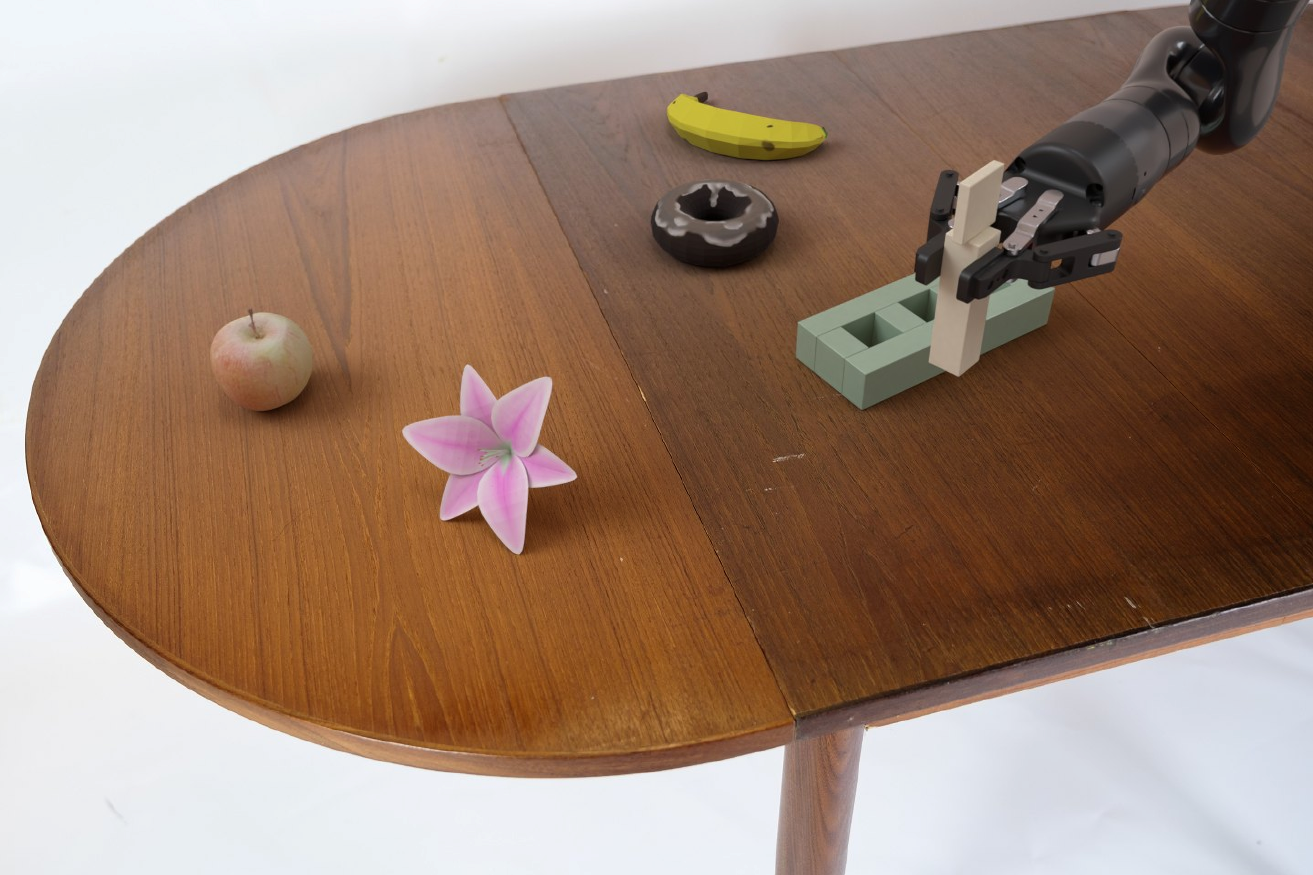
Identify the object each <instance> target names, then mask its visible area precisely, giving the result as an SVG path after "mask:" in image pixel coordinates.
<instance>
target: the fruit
mask: <svg viewBox="0 0 1313 875" xmlns="http://www.w3.org/2000/svg"><path fill="white" fill-rule="evenodd" d="M246 311H247V313H248V315H245V316H242V317H239V318H237V319H234V320H232V321H230V322H228V323H227V324H224V326H222V327H221V328H220V329H219V330H218V331H217V333H216V334H215V336H214V337H213V340H212V342H211V345H210V349H209V350H210V351H209V352H210V353H209V360H210V366H211V370H212V373H213V377H214V378H215V380H216V381H217V384H218V386H219V387H220V388H221V390H222V391H223V393H225V395H226V396H227V397H228V398H229V399H230V400H231V401H233V402H234V403H236V404H237V405H239V406H240V407H242V408H244V409H247V410H250V411H256V412H264V411H265V412H266V411H270V410H274V409H277V408H280V407H282V406H284V405H287V404H289V403H290V402H292V401H294V400H295V399H296V398H297V397H299V395H301V393H302V392H303V390H304V389H305V387H306V386H307V384H308V382H309V380H310V378H311V375H312V371H313V366H314V356H313V349H312V346H311V343H310V341H309V339H308V336H307V335H306V333H305V332H304V331H303V329H302V328H301V327H300V326H299V325H298V324H297V323H296V322H295V321H294V320H292V319H290V318H288V317H286V316H284V315H281V314H279V313H278V314H277V313H274V312H266V311H265V312H263V311H262V312H255V313H254V311H253V308H249V309H247V310H246Z"/></svg>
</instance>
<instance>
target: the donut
mask: <svg viewBox="0 0 1313 875" xmlns="http://www.w3.org/2000/svg"><path fill="white" fill-rule="evenodd" d="M779 223H780V219H779V213H778V211H777V208H776V205H775V204H774V202H773V200H771V199H770V197H769V196H768V195H767V194H766V193H764V192H763V190H761V189H759V188H757V187H755V186H753V185H751V184H748V183H745V182H742V181H738V180H731V179H726V178H725V179H724V178H707V179H700V180H693V181H690V182H686V183H683V184H680V185H678V186H676V187H674V188H673V189H670V190H668V191H667V192H666V193H665V194H664V195H663V196H662V197H661V198H660V199H658V201H656V204H655V206H654V208H653V211H652V213H651V216H650V227H651V232H652V237H653V238H654V240H655V242H656V243H657V244H658V246H659V247H660V248H661V250H662V251H664V252H665V253H667V254H668V255H670V256H671V257H673V258H674V259H676V260H678V261H681V262H684V263H687V264H689V265H696V266H700V267H701V266H703V267H726V266H732V265H737V264H741V263H744V262H747V261H750V260H752V259H754V258H755V257H757V256H759V255H760V254H761V253H763V252H765V251H766V250H767V249H768V247H769V246H770V245H771V244H772V243H773V242H774V240H775V238H776V236H777V233H778V229H779V228H778V227H779Z"/></svg>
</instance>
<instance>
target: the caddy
mask: <svg viewBox="0 0 1313 875" xmlns="http://www.w3.org/2000/svg"><path fill="white" fill-rule="evenodd" d="M915 274H916V273H915V272H914V273H912V274H910V275H907V276H905V277H901V278H900V279H898V280H896V281H893V282H890V283H888V284H885V285H883V286H881V287H879V288H876V289H874V290H871V291H869V292H866V293H864V294H862V295H859V296H857V297H854V298H852V299H850V300H847V301H845V302H843V303H840V304H838V305H835V306H833V307H830V308H828V309H826V310H823V311H821V312H819V313H816V314H814V315H812V316H808V317H807V318H804V319H802V320H799V321H798V322H797V329H796V345H795V346H796V347H795V358H796V359H797V360H798V361H800V362H801V363H802V364H803V365H805V366H806V367H807V368H808V369H810V370H811V371H812V372H813V373H814V374H815V375H817V376H818V377H819V378H820V379H822V380H823V381H825V382H826V383H827V384H828V385H829V386H831V388H833V389H834V390H835V391H836V392H838V393H839V394H841V396H843V397H844V398H846V400H848V401H849V402H850V403H851V404H852V405H854V406H855V407H857V408H858V409H859V410H860V411H864V410H865V409H868V408H870V407H872V406H875V405H876V404H879V403H881V402H883V401H885V400H887V399H889V398H892V397H894V396H896V395H898V394H900V393H902V392H904V391H906V390H908V389H910V388H911V389H912V388H913V387H915V386H917V385H919V384H921V383H923V382H926V381H929V380H930V379H932V378H934V377H936V376H938V375H941V374H943V373H945V372H946V371H945V370H943V369H941V368H939V367H937V366H935V365H933V364H931V363H929V355H930V348H931V341H932V333H933V326H934V318H935V311H936V303H937V296H938V289H939V281H940V276H939V277H938V278H937V279H935V280H934V281H933V282H931V283H930V284H928V285H927V286H925V285H923V284H921V283H919V282H916V281H915ZM1027 282H1028V280H1024V279H1017V280H1016V281H1015V282H1013V283H1004V284H1003V285H1001V286H1000V287H999V288H998V289H996V290H995V291H994V292H992V293H991V294H990V298H989V304H988V310H987V316H986V321H985V327H984V333H983V339H982V345H981V351H980V356H982V355H983V354H986V353H987V352H990V351H992V350H994V349H996V348H998V347H1000V346H1002V345H1005V344H1007V343H1009V342H1011V341H1014V340H1015V339H1019V338H1020V337H1022V336H1024V335H1027V334H1028V333H1030V332H1031V333H1032V331H1035V330H1037V329H1039V328H1041V327H1044V326H1047V324H1048V321H1049V317H1050V313H1051V310H1052V309H1051V307H1052V305H1053V301H1054V296H1055V292H1056V288H1055V287H1050V288H1045V289H1041V290H1038V289H1033V288H1031V287H1029V286H1028V284H1027Z"/></svg>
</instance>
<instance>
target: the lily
mask: <svg viewBox="0 0 1313 875" xmlns="http://www.w3.org/2000/svg"><path fill="white" fill-rule="evenodd" d="M462 371H463V372H462V376H461V384H460V397H459V407H460V408H459V410H460V411H459V412H460V414H459V415H458V414H457V415H455V414H454V415H444V416H438V417H433V418H428V419H423V420H419V421H416V422H412V423H410V424H408V425H405V426H404V427H403V428H402V429H401V432H402V436H403V438H404V439H405V440H406V441H407V443H408V444H409V445H410V446H411V447H412V448H414V450H416V452H418V453H419V454H420V455H421V456H422V457H424V458H425V459H426V460H427V461H429V463H431V464H433V466H435V467H437V469H439V470H441V471H444V472H446V473H448V474H449V477H448V479H447V481H446V484H445V487H444V491H443V493H442V498H441V503H440V507H439V508H440V509H439V518H440V520H441V521H448V520H451V519H453V518H454V519H455V518H456V517H458V516H461V515H463V514H465V513H466V512H469V511H470V510H472V509H474V508H476V507H478V508H479V510H480V512H481V515H482V517H483V518H484V520H485V521H486V523H487V524H488V526H489V527H490V528H491V530H492V531H493V532H494V534H495V535H496V536H497V538H498V539H499V540H500V541H501V542H502V543H503V545H505V547H506V548H507V549H508V550H510V551H511V552H512V553H513V554H516V555H520V554H521V553H522V552H523V550H524V544H525V539H526V538H525V537H526V536H525V535H526V525H527V510H528V501H529V499H528V498H529V488H532V489H534V488H545V487H552V486H557V485H562V484H566V483H569V482H573V481H575V480H576V479H577V478H578V475H577V472H576V471H575V470H574V469H572V468H571V466H569V465H568V464H567V463H566V462H565V461H563V460H562V459H561V458H560V457H558V456H557V455H556V454H555V453H553V452H552V451H551V450H549V449H548V448H546V447H545V446H544V445H542V444H540V443H539V442H538V440H539V437H540V433H541V430H542V425H543V423H544V419H545V416H546V412H547V409H548V405H549V403H550V398H551V396H552V389H553V380H552V377H550V376H542V377H539V378H535V379H533V380H531V381H529V382H526V383H524V384H522V385H520V386H518V387H516V388H514V389H513V390H511V391H509V392H507V393H505V394H504V395H502V396H501V397H500V398H498V399H497V398H496V396H495V395H494V393H493V392H492V390H491V389H490V388H489V386H488V385H487V384H486V382H485V381H484V379H483V378H482V377H481V376H480V374H479V373H478V372H477V371H476V370H475V369H474V367H473V366H471V365H470V364H465V366H464V368H463V370H462Z"/></svg>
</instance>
